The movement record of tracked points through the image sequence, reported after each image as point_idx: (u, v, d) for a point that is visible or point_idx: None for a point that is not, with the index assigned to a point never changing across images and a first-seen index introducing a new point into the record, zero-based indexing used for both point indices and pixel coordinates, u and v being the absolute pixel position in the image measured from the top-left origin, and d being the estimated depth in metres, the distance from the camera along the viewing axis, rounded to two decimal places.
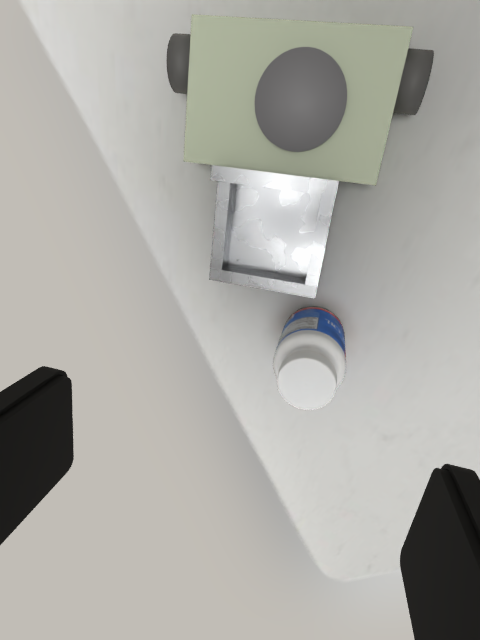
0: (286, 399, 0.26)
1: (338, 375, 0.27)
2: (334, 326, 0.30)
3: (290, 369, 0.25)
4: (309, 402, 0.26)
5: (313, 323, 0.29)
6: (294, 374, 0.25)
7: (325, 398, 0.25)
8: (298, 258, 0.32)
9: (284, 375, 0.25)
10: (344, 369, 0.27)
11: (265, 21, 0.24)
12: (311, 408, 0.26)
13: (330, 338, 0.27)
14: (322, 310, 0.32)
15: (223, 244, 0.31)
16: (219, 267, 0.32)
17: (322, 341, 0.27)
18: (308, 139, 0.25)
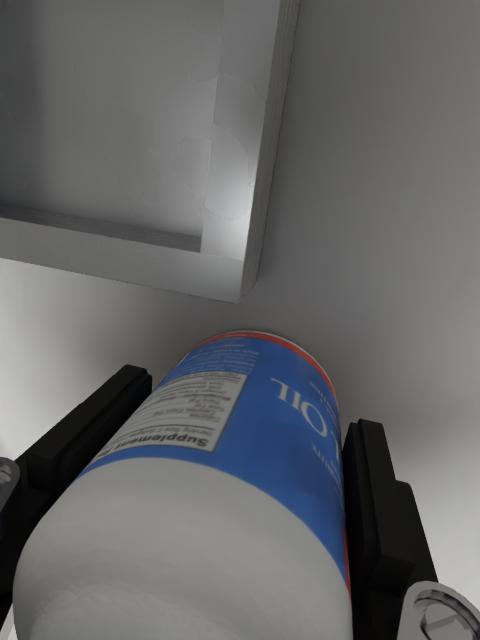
0: None
1: None
2: (305, 410, 0.08)
3: None
4: None
5: (216, 405, 0.07)
6: None
7: None
8: (195, 175, 0.10)
9: None
10: None
11: None
12: None
13: (271, 514, 0.05)
14: (271, 342, 0.10)
15: None
16: None
17: (221, 557, 0.05)
18: None
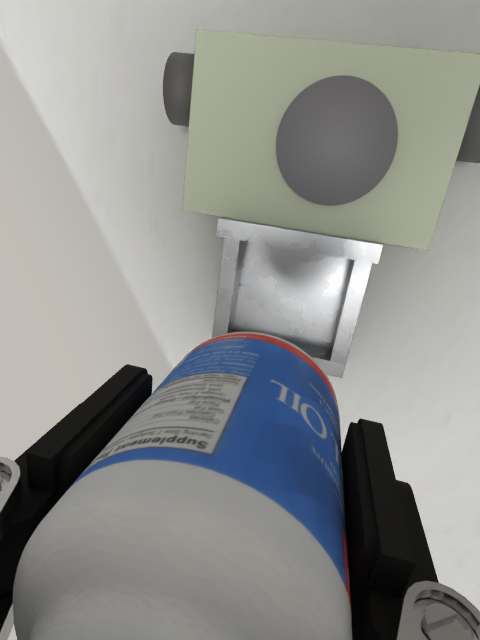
0: None
1: None
2: (304, 412, 0.08)
3: None
4: None
5: (215, 407, 0.07)
6: None
7: None
8: (320, 325, 0.26)
9: None
10: None
11: (292, 41, 0.19)
12: None
13: (270, 517, 0.05)
14: (271, 343, 0.10)
15: (229, 309, 0.25)
16: None
17: (220, 559, 0.05)
18: (344, 191, 0.20)
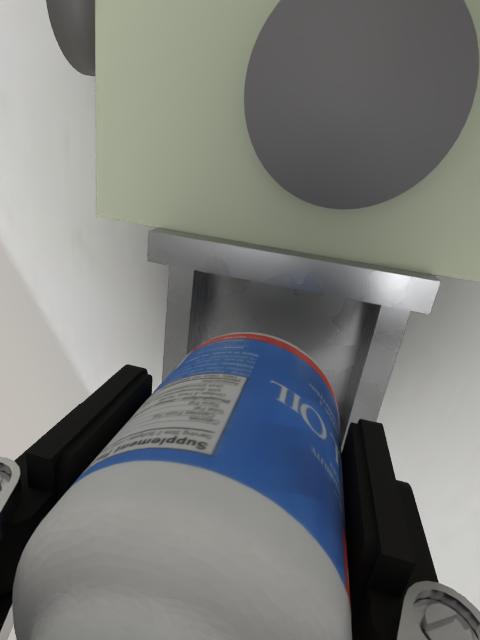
0: None
1: None
2: (304, 412, 0.08)
3: None
4: None
5: (215, 408, 0.07)
6: None
7: None
8: None
9: None
10: None
11: None
12: None
13: (270, 517, 0.05)
14: (271, 344, 0.10)
15: None
16: None
17: (220, 560, 0.05)
18: (369, 183, 0.11)
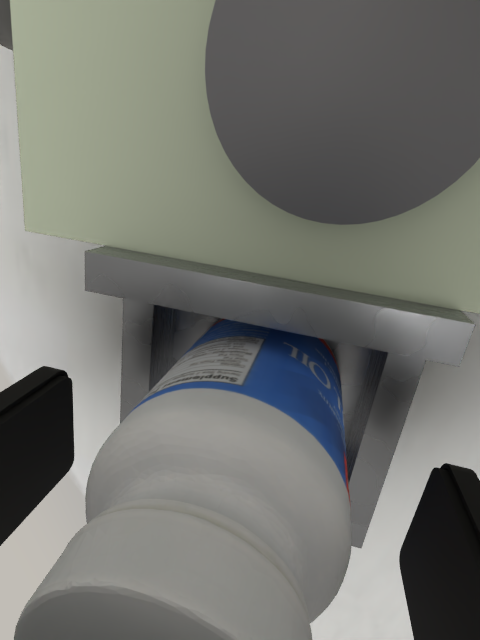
0: None
1: (320, 586, 0.06)
2: (312, 367, 0.10)
3: (60, 625, 0.05)
4: None
5: (241, 357, 0.09)
6: None
7: None
8: None
9: None
10: (345, 557, 0.07)
11: None
12: None
13: (288, 426, 0.07)
14: None
15: None
16: None
17: (254, 448, 0.06)
18: (378, 189, 0.08)
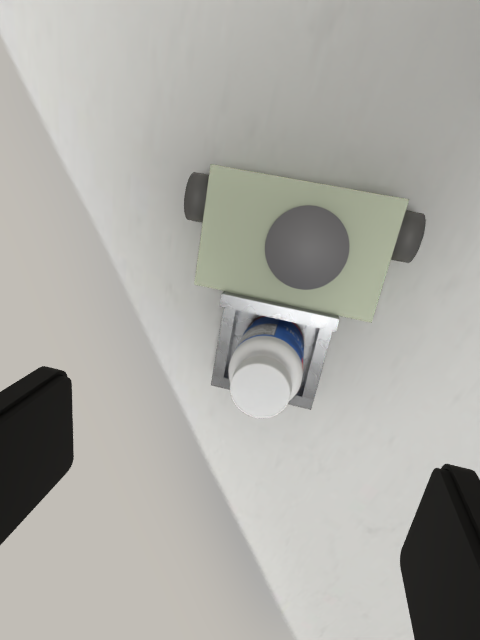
0: (239, 406, 0.25)
1: (294, 383, 0.26)
2: (293, 333, 0.29)
3: (243, 375, 0.24)
4: (262, 410, 0.25)
5: (271, 329, 0.28)
6: (248, 380, 0.24)
7: (279, 406, 0.24)
8: None
9: (237, 381, 0.24)
10: (300, 377, 0.26)
11: (278, 178, 0.27)
12: (264, 416, 0.25)
13: (286, 344, 0.27)
14: None
15: (226, 355, 0.33)
16: (221, 375, 0.33)
17: (279, 347, 0.26)
18: (312, 280, 0.28)
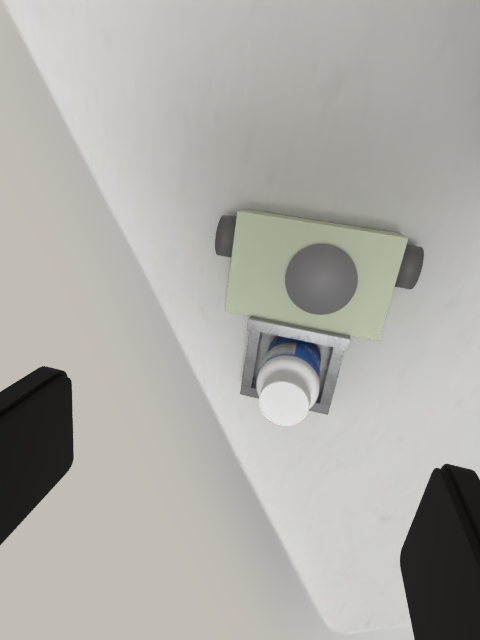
0: (266, 416, 0.30)
1: (312, 395, 0.31)
2: (310, 351, 0.34)
3: (270, 391, 0.29)
4: (286, 419, 0.30)
5: (292, 348, 0.33)
6: (273, 395, 0.29)
7: (300, 416, 0.29)
8: None
9: (265, 396, 0.30)
10: (317, 390, 0.31)
11: (295, 222, 0.31)
12: (288, 424, 0.30)
13: (305, 363, 0.31)
14: None
15: (253, 369, 0.38)
16: (249, 385, 0.38)
17: (298, 366, 0.31)
18: (326, 307, 0.32)
